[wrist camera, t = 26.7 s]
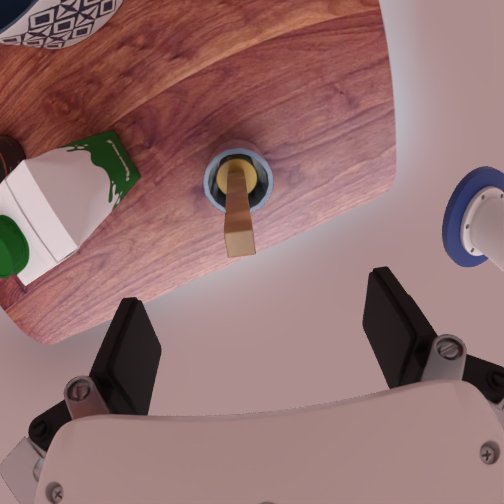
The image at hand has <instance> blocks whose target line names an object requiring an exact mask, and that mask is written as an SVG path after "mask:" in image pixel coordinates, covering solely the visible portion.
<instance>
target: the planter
mask: <svg viewBox="0 0 504 504" xmlns="http://www.w3.org/2000/svg"><path fill="white" fill-rule="evenodd" d="M122 2H123V0H0V44H8V45H20V46H30V47H38V48H46V49H61V48H65V47H69V46H72V45H74V44H77V43H79V42H81V41H82V40H84V39H86V38H87V37H89V36H91V35H92V34H94V33H95V32H96V31H97V30H98V29H100V28H101V27H102V26H103V25H104V24H105V23H106V22H107V21H108V20H109V19H110V18H111V17H112V16H113V14H114V13H115V12H116V11H117V9H118V8H119V6H120V5H121V4H122Z"/></svg>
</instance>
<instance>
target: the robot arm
mask: <svg viewBox="0 0 504 504" xmlns="http://www.w3.org/2000/svg"><path fill="white" fill-rule="evenodd" d="M460 237H461V242H462V245H463V247H464V249H465V250H466V251H467V252H468V253H469V254H471V255H474V256H480V255H483V254H484V255H485V256H486V257H487V258H489V259H490V260H491V261H492V262H493V263H494V264H495V265H496V266H497V267H498V268H500V269H501V270H502V271H503V272H504V192H503V191H502V190H500V189H498V188H497V187H494V186H488V187H485V188H483V189H481V190H480V191H479V192H478V193H477V194H475V196H474V197H473V198H472V199H471V201H470V203H469V204H468V206H467V208H466V210H465V212H464V215H463V218H462V223H461V230H460ZM363 329H364V331H365V333H366V335H367V338H368V340H369V342H370V344H371V346H372V349H373V351H374V354H375V356H376V358H377V360H378V363H379V365H380V367H381V370H382V372H383V375H384V377H385V379H386V382H387V384H388V387H389V388H390V389H389V390H385V391H381V392H377V393H372V394H368V395H364V396H359V397H354V398H350V399H345V400H340V401H335V402H330V403H325V404H318V405H313V406H307V407H299V408H293V409H285V410H277V411H268V412H258V413H248V414H234V415H214V416H147V415H148V411H149V406H150V401H151V396H152V391H153V387H154V383H155V378H156V374H157V369H158V365H159V360H160V356H161V345H160V343H159V341H158V338H157V336H156V334H155V331H154V329H153V327H152V325H151V322H150V320H149V318H148V315H147V313H146V310H145V308H144V305H143V303H142V301H141V300H138V299H137V298H136V297H131V298H123V299H122V301H121V303H120V305H119V307H118V309H117V311H116V313H115V315H114V318H113V320H112V322H111V324H110V327H109V329H108V331H107V333H106V336H105V338H104V340H103V342H102V345H101V347H100V349H99V352H98V354H97V356H96V359H95V361H94V364H93V366H92V369H91V372H90V374H89V376H84V375H82V376H77V377H75V378H73V379H72V380H70V381H69V382H68V384H67V385H66V387H65V389H64V398H65V399H64V400H63V401H61V402H60V403H58V404H57V405H55V406H53V407H52V408H50V409H49V410H47V411H46V412H44V413H42V414H41V415H39V416H38V417H36V418H35V419H34V420H33V421H32V422H31V424H30V426H29V432H28V433H29V437H28V438H26V437H24V438H23V439H22V440H21V441H20V442H19V443H18V444H17V445H16V447H15V448H14V449H13V450H12V451H11V452H10V453H9V454H8V456H7V457H6V458H5V459H4V460H3V462H2V463H1V467H0V473H1V476H2V478H3V479H4V481H5V483H6V484H7V486H8V487H9V489H10V490H11V492H12V493H13V494H14V496H15V497H16V499H17V500H18V502H19V503H20V504H504V368H503V367H502V366H499V365H496V364H494V363H491V362H488V361H485V360H482V359H479V358H476V357H474V356H471V355H468V354H467V351H466V350H467V349H466V346H465V344H464V343H463V341H462V340H461V339H459V338H458V337H456V336H454V335H449V334H444V335H440V336H438V335H437V334H436V332H435V331H434V329H433V328H432V326H431V325H430V323H429V322H428V320H427V319H426V317H425V316H424V314H423V313H422V311H421V310H420V308H419V307H418V306H417V304H416V303H415V301H414V300H413V298H412V297H411V296H410V295H408V294H407V293H406V291H405V290H404V288H403V287H402V286H401V284H400V283H399V281H398V280H397V279H396V277H395V276H394V275H393V273H392V272H391V270H390V269H389V268H388V267H379V268H374V269H373V272H371V273H369V278H368V286H367V294H366V302H365V308H364V315H363Z"/></svg>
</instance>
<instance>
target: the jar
mask: <svg viewBox="0 0 504 504" xmlns="http://www.w3.org/2000/svg"><path fill="white" fill-rule="evenodd" d="M23 160H25V156H24V153H23V151H22V149H21V147H20V145H19V144H18V143H17V142H16V141H15V140H14V139H13V138H11V137H8V136H0V184H1V182H2V181H3V180H4V179H5V178H6V177H7V176H8V175H9V174H10V173H11V172H12V171H13V170H14V169H15V168H16V167H17V166H18V165H19V164H20V163H21V162H22V161H23Z"/></svg>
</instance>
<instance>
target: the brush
mask: <svg viewBox="0 0 504 504" xmlns="http://www.w3.org/2000/svg"><path fill="white" fill-rule="evenodd" d="M256 182H257V173H256V170H255V167H254V164H253V161H252V159H251V157H250V156H249V155H245V154H241V153H240V154H233V155H228V156H226V157H224V158H222V159H221V160H220V163H219V168H218V172H217V184H218V186H219V188H220V189H221V191H222V192H223V193H225V194H226V207H225V223H224V238H225V243H226V249H227V254H228V257H229V258H231V257H238V256H246V255H253V254H256V250H255V242H254V235H253V227H252V220H251V214H250V207H249V200H248V194H249V193H250V192H251V191H252V190H253V189H254V187H255V185H256Z"/></svg>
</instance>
